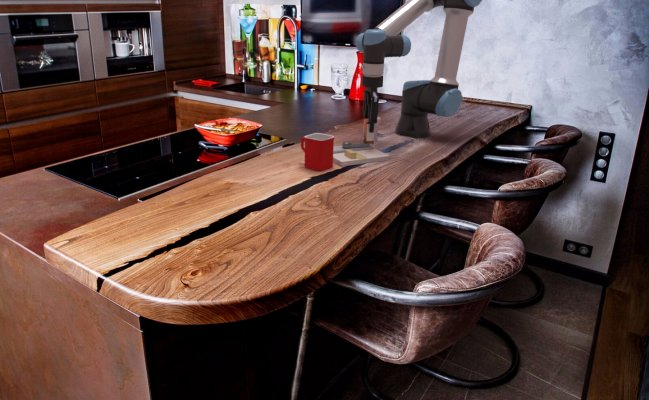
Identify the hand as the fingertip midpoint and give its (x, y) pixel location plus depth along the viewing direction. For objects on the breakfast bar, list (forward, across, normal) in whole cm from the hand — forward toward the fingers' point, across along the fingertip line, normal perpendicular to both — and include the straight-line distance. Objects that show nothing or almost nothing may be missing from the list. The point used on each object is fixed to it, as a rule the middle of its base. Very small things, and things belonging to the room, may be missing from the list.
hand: (368, 138), depth 185 cm
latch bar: (+3, +1, -4) cm, 5 cm away
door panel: (+5, +8, -5) cm, 11 cm away
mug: (+6, +15, -22) cm, 27 cm away
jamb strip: (+6, 0, -8) cm, 10 cm away
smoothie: (+6, -18, +6) cm, 20 cm away
